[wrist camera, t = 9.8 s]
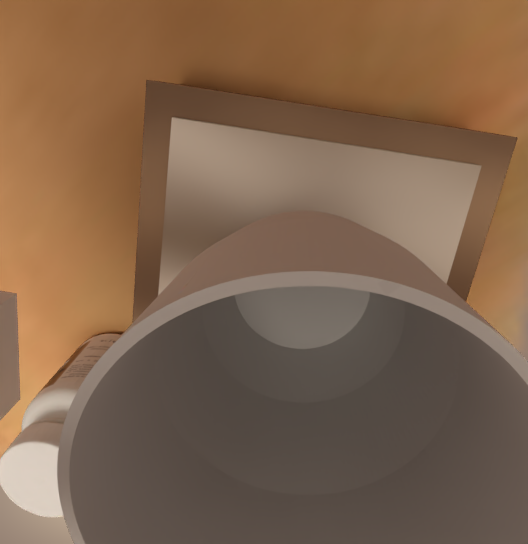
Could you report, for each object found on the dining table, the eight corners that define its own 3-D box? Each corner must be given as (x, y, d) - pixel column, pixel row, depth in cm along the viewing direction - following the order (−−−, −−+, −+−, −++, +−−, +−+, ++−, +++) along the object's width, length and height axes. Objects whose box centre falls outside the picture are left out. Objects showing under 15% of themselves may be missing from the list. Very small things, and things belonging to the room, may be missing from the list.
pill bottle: (70, 328, 24) (-28, 428, 17) (157, 332, 24) (96, 434, 16) (80, 403, 25) (-7, 525, 18) (162, 408, 25) (108, 532, 18)
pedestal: (179, 84, 20) (143, 79, 15) (468, 129, 20) (523, 138, 15) (158, 341, 24) (125, 400, 19) (398, 380, 24) (423, 449, 19)
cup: (231, 405, 19) (167, 706, 10) (153, 211, 16) (-37, 359, 7) (439, 354, 18) (603, 646, 8) (387, 135, 15) (537, 193, 6)
